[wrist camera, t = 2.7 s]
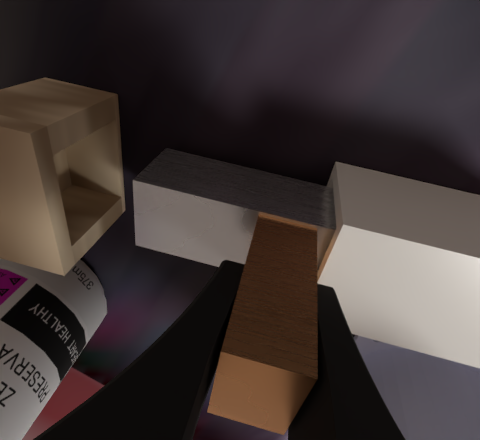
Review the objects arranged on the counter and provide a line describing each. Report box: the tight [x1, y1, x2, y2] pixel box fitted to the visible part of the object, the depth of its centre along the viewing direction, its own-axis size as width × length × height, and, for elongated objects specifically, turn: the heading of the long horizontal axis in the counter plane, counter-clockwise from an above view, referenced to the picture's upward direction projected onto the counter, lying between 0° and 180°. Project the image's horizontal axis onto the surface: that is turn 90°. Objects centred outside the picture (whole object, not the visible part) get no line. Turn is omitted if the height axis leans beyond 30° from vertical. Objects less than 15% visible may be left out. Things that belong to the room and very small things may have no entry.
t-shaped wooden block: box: [133, 148, 337, 435], centre depth 10 cm, size 15×3×8 cm, turn 81°
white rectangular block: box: [317, 162, 480, 368], centre depth 12 cm, size 7×5×5 cm, turn 81°
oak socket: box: [0, 77, 125, 276], centre depth 13 cm, size 3×6×5 cm, turn 171°
